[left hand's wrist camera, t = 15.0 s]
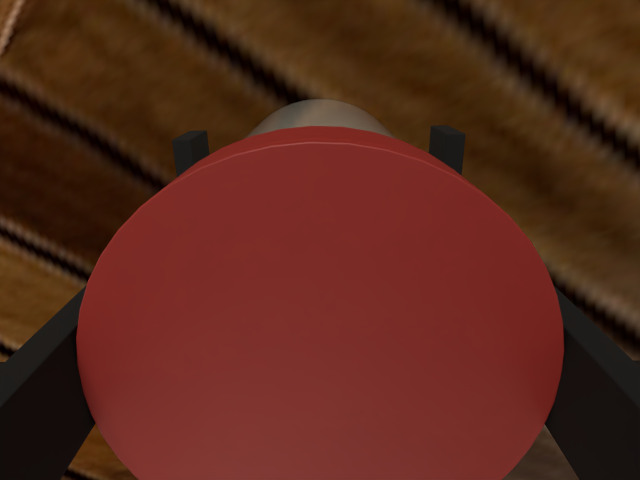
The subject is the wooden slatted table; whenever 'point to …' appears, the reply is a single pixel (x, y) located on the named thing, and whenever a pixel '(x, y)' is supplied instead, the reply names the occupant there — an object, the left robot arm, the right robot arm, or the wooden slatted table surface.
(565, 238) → the wooden slatted table surface
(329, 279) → the lid
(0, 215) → the wooden slatted table surface
